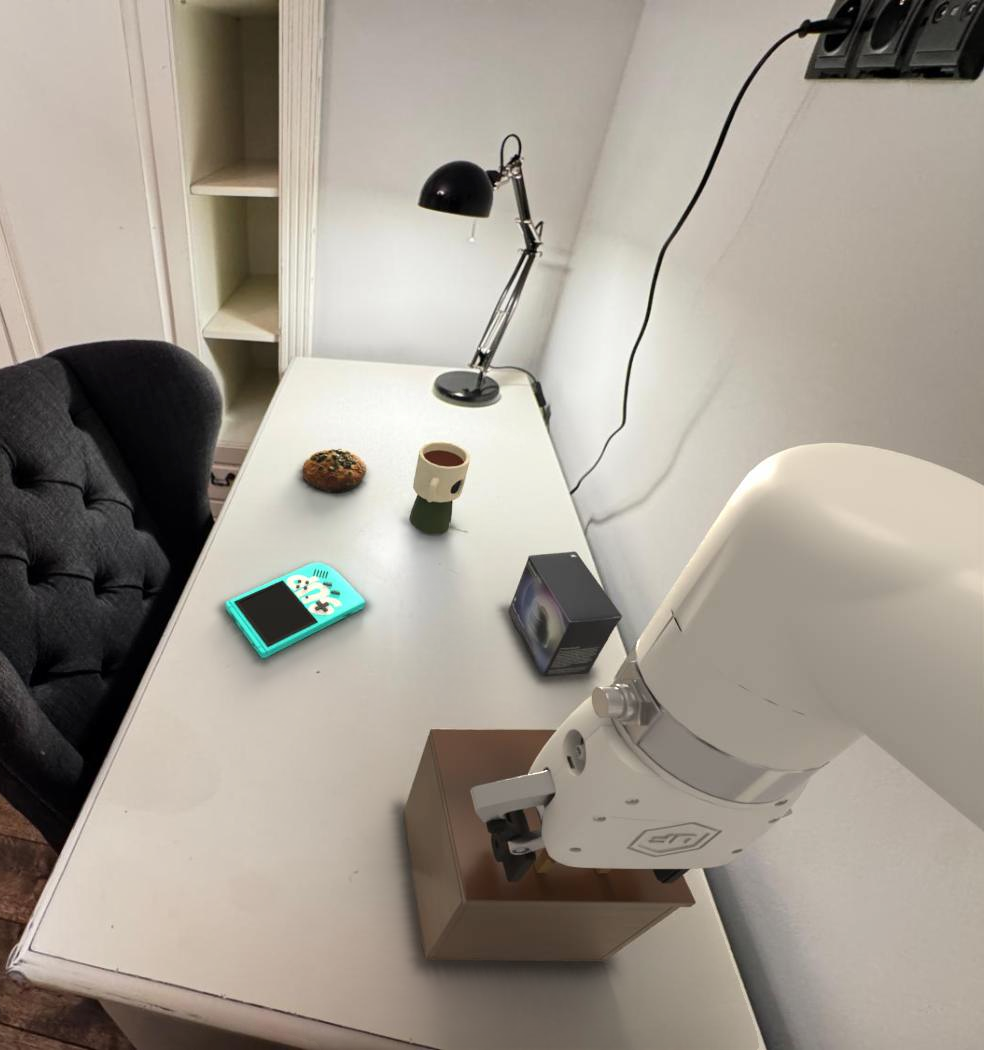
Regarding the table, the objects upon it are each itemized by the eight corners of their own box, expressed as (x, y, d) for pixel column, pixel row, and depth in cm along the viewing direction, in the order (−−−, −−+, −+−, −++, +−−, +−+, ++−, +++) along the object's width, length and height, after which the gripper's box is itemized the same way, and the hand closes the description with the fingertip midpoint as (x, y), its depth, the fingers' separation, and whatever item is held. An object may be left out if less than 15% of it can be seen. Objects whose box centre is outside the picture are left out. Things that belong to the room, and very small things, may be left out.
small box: (503, 610, 75) (525, 552, 68) (550, 606, 76) (577, 548, 69) (539, 678, 67) (568, 620, 60) (591, 673, 68) (626, 615, 61)
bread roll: (323, 500, 92) (324, 473, 90) (290, 474, 101) (289, 448, 98) (378, 483, 97) (380, 456, 94) (342, 459, 105) (343, 434, 102)
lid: (690, 907, 37) (736, 876, 33) (463, 905, 37) (483, 874, 33) (610, 735, 46) (639, 695, 42) (428, 733, 46) (441, 694, 42)
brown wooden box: (604, 961, 46) (688, 902, 37) (425, 959, 46) (462, 900, 37) (553, 813, 55) (610, 735, 46) (403, 812, 55) (428, 734, 46)
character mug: (443, 552, 84) (461, 481, 75) (396, 538, 86) (409, 467, 77) (459, 510, 91) (477, 441, 83) (416, 498, 93) (429, 430, 85)
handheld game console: (366, 608, 75) (367, 601, 74) (262, 661, 69) (262, 654, 68) (323, 563, 82) (323, 556, 81) (224, 608, 75) (223, 601, 74)
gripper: (545, 792, 22) (457, 924, 34) (984, 796, 22) (749, 927, 34) (493, 640, 28) (432, 796, 39) (843, 643, 28) (682, 798, 39)
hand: (579, 856), depth 36 cm, fingers open, 9 cm apart
